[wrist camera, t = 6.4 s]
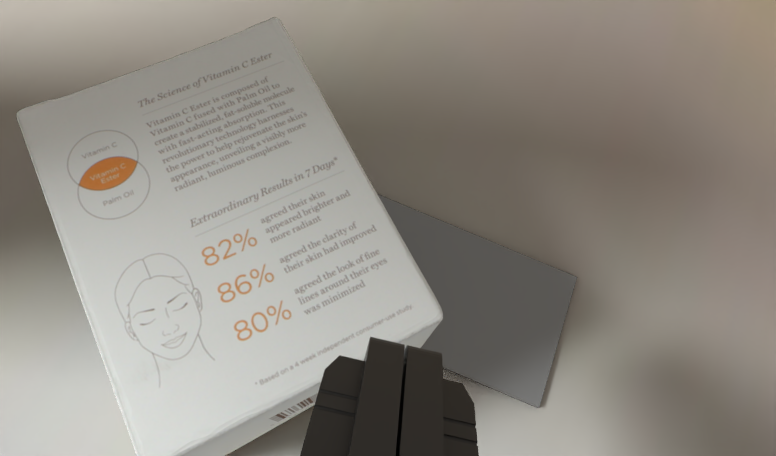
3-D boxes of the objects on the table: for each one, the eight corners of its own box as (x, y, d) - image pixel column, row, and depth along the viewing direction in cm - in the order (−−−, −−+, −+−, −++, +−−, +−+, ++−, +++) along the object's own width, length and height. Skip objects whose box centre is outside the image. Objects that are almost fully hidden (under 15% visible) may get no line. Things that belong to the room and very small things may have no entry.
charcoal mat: (245, 282, 20) (244, 281, 20) (305, 166, 22) (305, 164, 22) (537, 407, 20) (539, 407, 19) (574, 278, 21) (577, 277, 21)
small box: (426, 352, 19) (299, 109, 22) (451, 318, 14) (281, 8, 17) (200, 469, 18) (96, 190, 21) (133, 480, 13) (9, 106, 16)
